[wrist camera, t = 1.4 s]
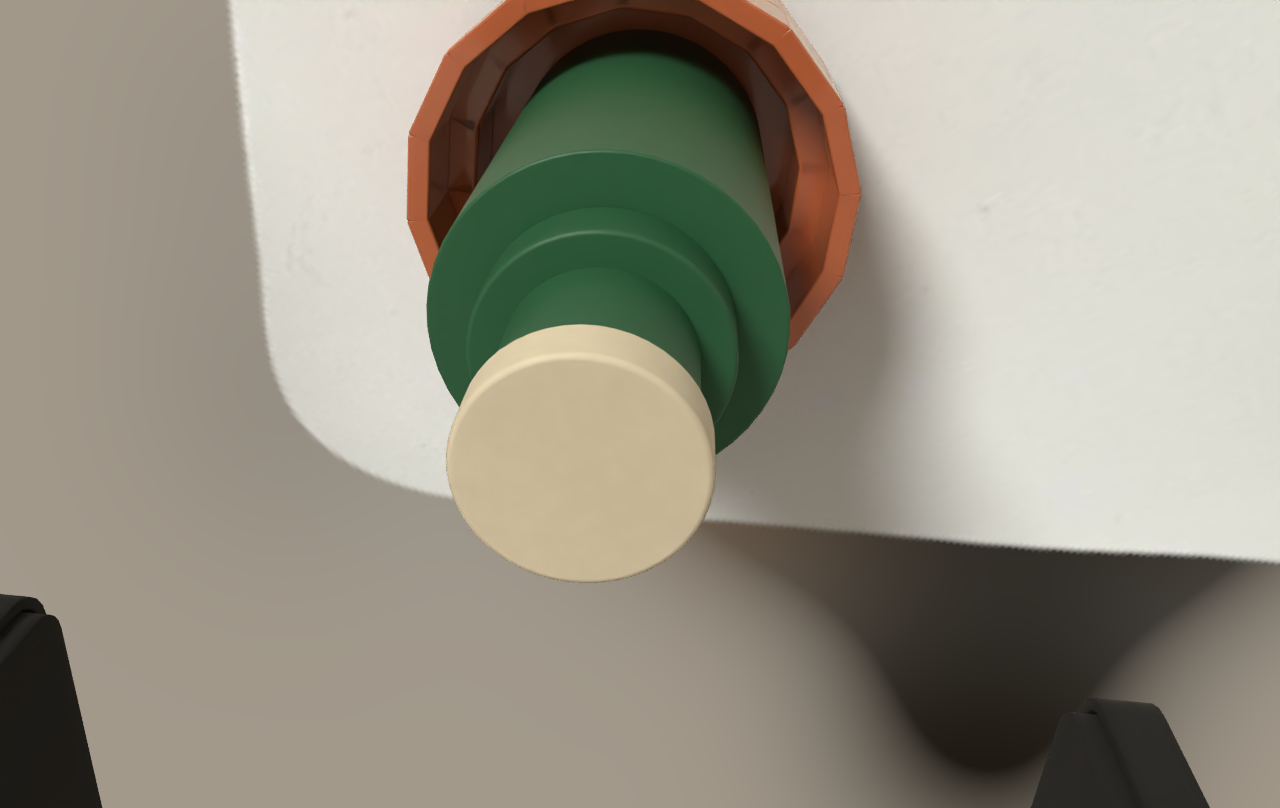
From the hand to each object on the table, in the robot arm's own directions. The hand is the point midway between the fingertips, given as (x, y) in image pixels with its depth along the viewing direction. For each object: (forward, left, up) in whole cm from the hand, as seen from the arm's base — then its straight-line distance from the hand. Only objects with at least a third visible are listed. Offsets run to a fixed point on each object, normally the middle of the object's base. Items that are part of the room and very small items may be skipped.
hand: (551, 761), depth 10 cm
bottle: (0, 0, -21) cm, 21 cm away
